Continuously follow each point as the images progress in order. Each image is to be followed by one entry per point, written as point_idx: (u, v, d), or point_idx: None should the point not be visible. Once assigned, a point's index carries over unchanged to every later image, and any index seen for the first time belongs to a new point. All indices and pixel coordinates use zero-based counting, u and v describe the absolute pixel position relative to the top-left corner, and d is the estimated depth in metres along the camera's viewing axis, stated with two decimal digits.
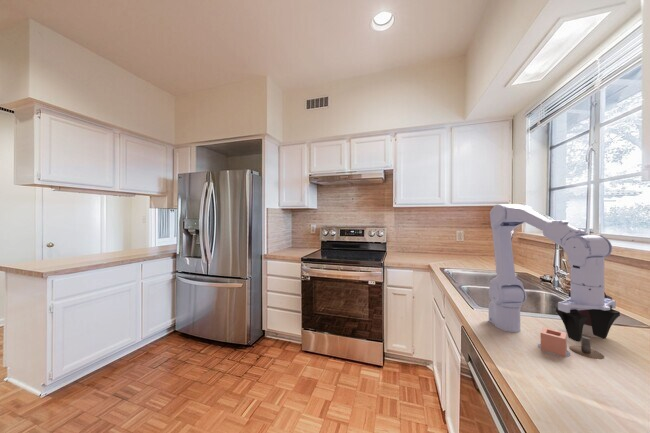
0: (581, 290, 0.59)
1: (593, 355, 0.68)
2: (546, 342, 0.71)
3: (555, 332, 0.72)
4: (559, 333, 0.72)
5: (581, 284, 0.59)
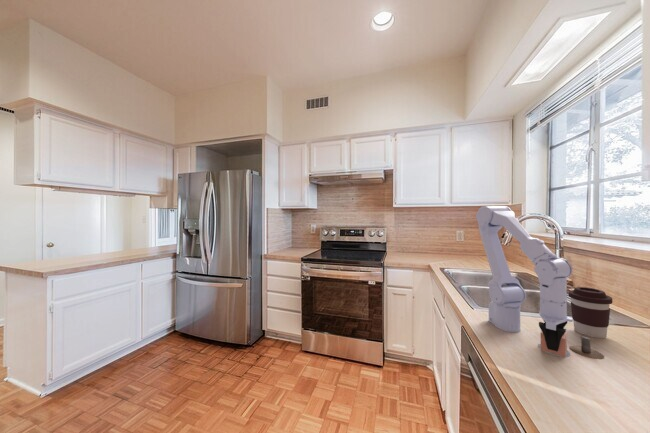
0: (555, 307, 0.69)
1: (593, 355, 0.68)
2: None
3: None
4: None
5: (549, 301, 0.70)
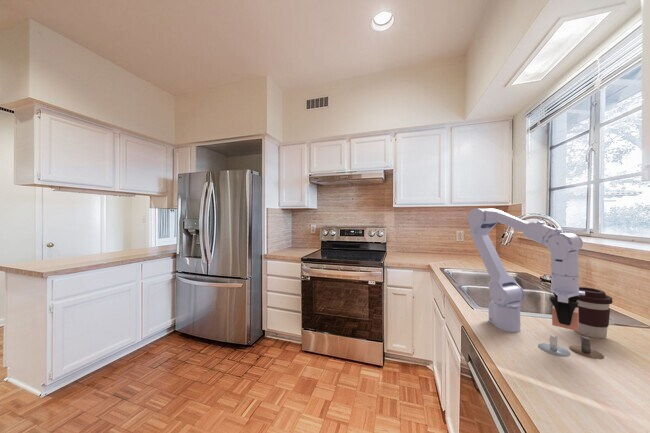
0: (567, 280, 0.68)
1: (593, 355, 0.68)
2: None
3: None
4: None
5: (564, 275, 0.69)
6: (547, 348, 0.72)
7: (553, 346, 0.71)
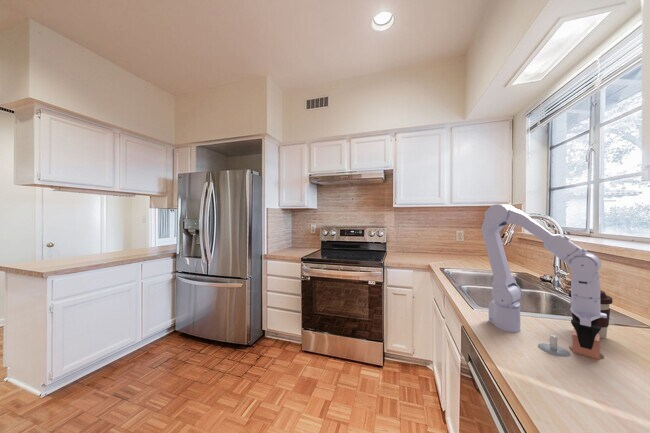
0: (589, 303, 0.68)
1: None
2: (578, 344, 0.69)
3: None
4: None
5: (588, 297, 0.68)
6: (547, 348, 0.72)
7: (553, 346, 0.71)
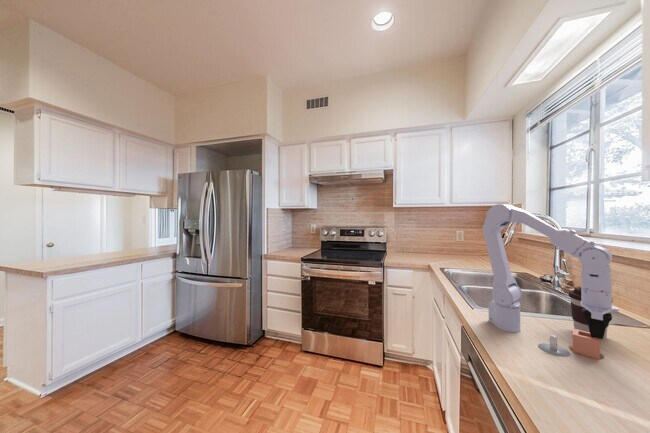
0: (600, 296, 0.66)
1: None
2: (579, 344, 0.69)
3: (587, 334, 0.71)
4: None
5: (600, 291, 0.66)
6: (547, 348, 0.72)
7: (553, 346, 0.71)
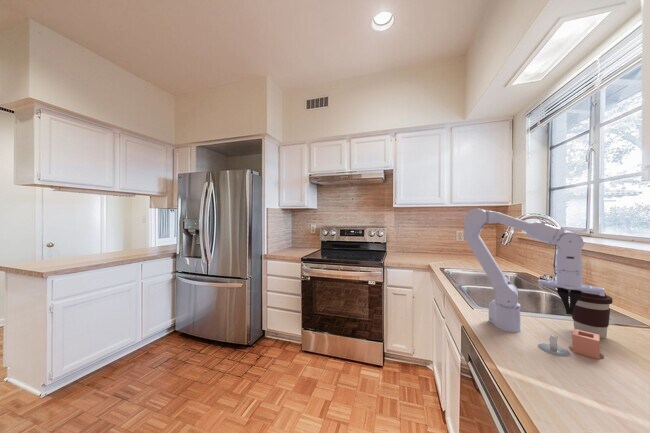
0: (556, 273, 0.77)
1: None
2: (578, 344, 0.69)
3: (587, 334, 0.71)
4: (592, 335, 0.70)
5: (575, 271, 0.73)
6: (547, 348, 0.72)
7: (553, 346, 0.71)
